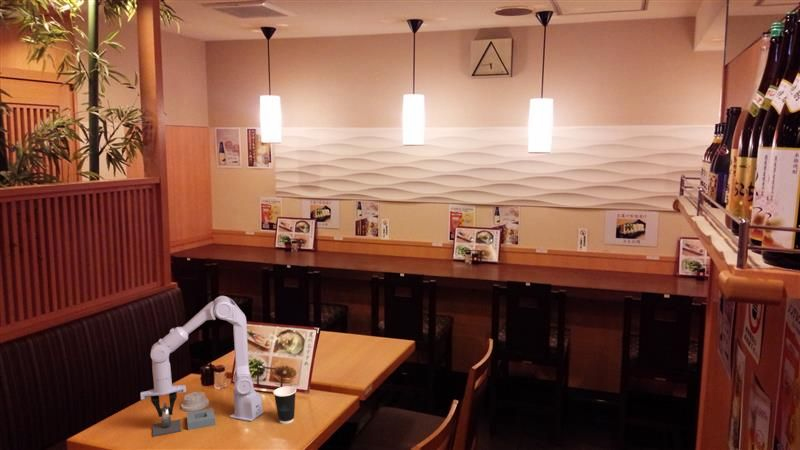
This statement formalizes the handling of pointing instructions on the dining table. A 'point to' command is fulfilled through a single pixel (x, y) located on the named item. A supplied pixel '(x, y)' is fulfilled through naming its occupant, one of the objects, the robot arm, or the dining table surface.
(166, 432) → the key mat
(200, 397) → the mechanical component
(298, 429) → the dining table surface
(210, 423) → the socket block
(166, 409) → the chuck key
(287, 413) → the dixie cup
